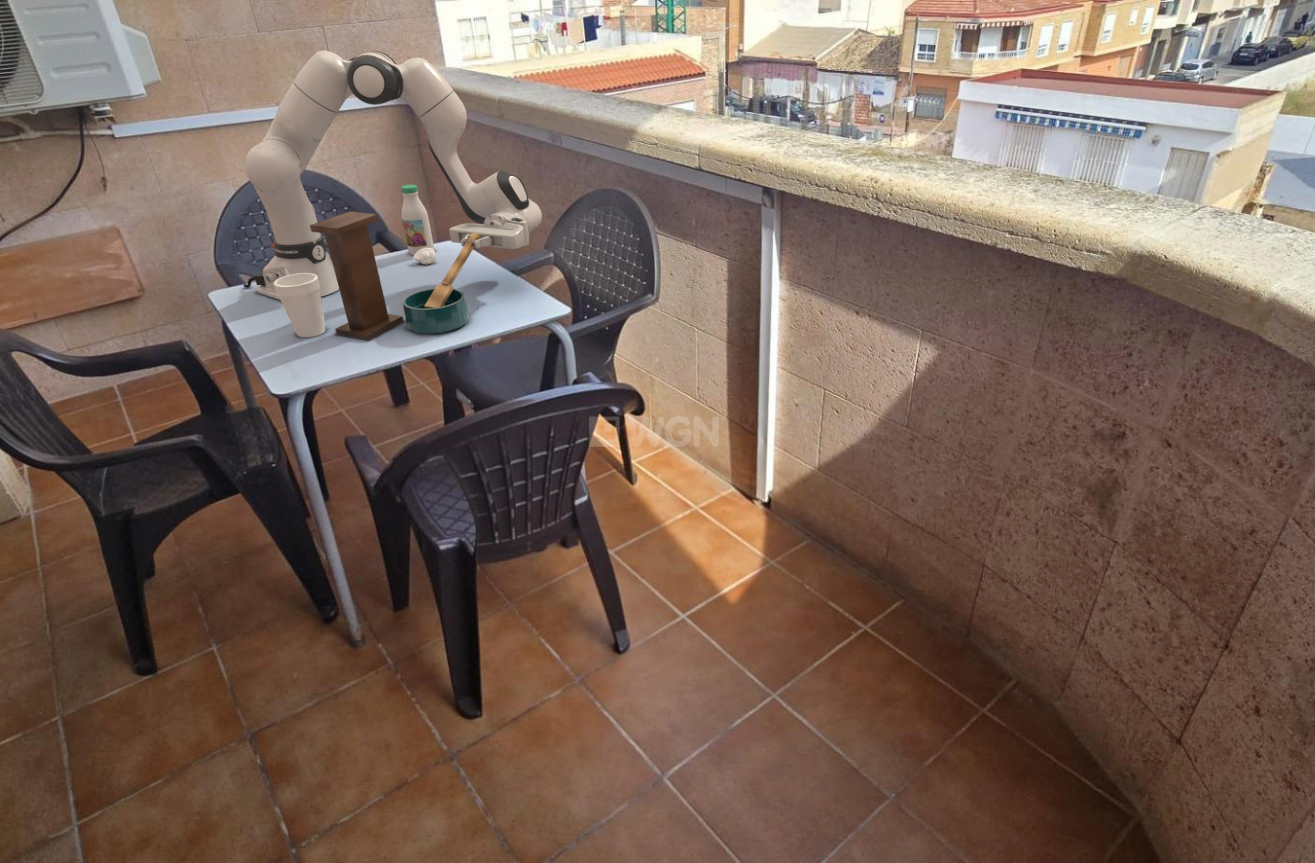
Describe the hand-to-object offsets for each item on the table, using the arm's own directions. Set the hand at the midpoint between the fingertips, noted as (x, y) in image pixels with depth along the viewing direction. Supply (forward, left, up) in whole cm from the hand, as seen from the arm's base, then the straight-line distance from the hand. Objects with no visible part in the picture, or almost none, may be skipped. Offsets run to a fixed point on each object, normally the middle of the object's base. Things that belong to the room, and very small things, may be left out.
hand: (469, 244), depth 181 cm
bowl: (0, -16, -15) cm, 22 cm away
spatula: (0, -7, -5) cm, 8 cm away
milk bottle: (-42, +29, -15) cm, 53 cm away
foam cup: (-26, -31, -15) cm, 43 cm away
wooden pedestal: (-14, -24, -15) cm, 32 cm away
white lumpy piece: (-34, +21, -15) cm, 43 cm away
